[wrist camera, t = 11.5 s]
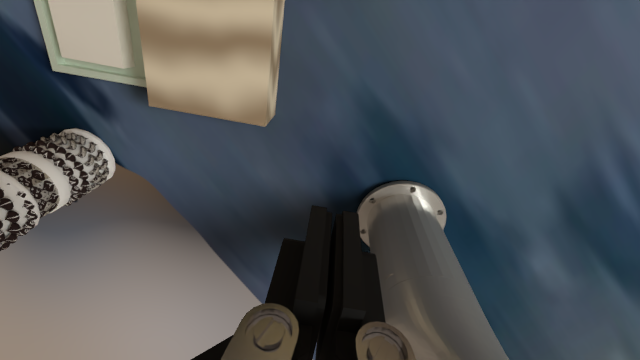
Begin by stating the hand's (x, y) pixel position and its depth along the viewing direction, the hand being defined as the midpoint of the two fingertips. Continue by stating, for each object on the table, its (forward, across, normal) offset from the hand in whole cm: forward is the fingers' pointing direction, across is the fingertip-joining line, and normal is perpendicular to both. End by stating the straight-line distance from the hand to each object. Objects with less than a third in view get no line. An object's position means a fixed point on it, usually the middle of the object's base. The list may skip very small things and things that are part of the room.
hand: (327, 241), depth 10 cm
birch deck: (+27, +14, -3) cm, 31 cm away
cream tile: (+24, +28, -3) cm, 37 cm away
